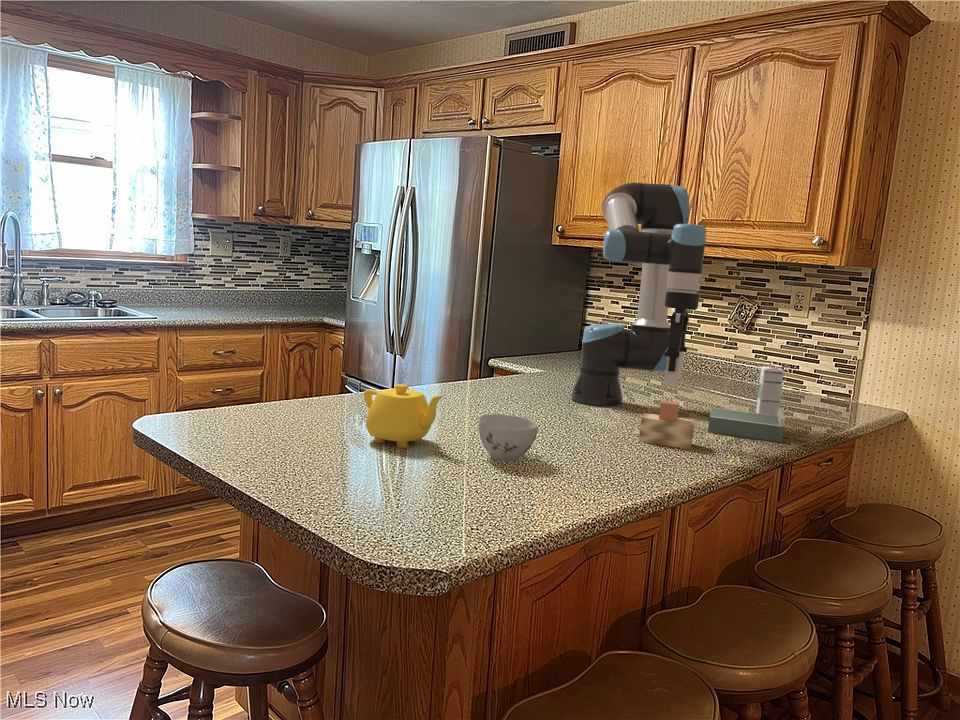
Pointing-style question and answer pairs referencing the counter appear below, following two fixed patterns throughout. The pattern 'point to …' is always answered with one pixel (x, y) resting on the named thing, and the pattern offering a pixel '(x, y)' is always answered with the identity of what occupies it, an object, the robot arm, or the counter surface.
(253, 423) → the counter surface
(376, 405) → the teapot
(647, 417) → the tan rectangular block
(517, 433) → the teacup
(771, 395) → the syrup box
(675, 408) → the orange cube
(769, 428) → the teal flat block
